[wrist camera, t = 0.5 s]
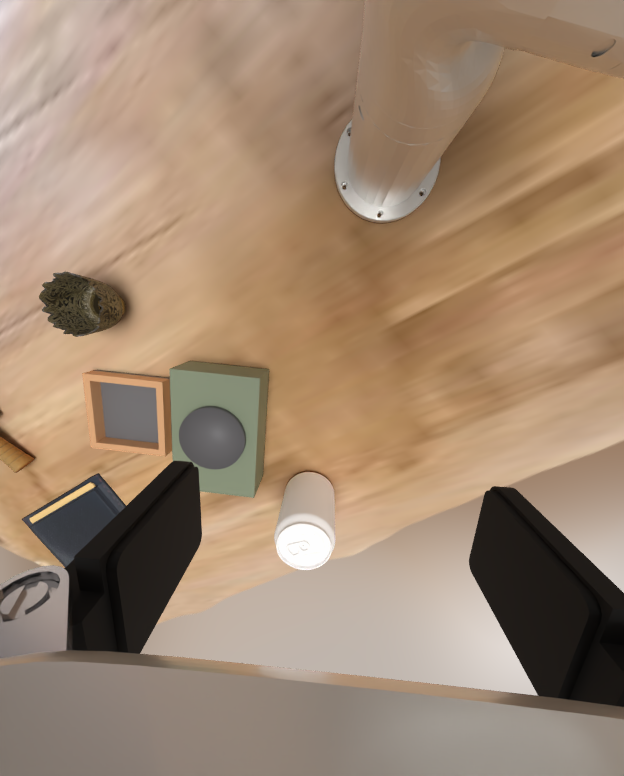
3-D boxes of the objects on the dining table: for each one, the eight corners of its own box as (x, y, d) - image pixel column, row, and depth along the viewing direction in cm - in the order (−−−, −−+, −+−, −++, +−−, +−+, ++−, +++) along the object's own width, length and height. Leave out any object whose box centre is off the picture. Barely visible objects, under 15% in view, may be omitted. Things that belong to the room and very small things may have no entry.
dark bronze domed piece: (114, 341, 44) (69, 348, 37) (80, 298, 43) (26, 296, 35) (150, 313, 43) (111, 314, 35) (117, 268, 42) (68, 258, 34)
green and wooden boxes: (93, 350, 45) (52, 358, 38) (269, 369, 44) (258, 380, 37) (104, 456, 50) (69, 479, 43) (263, 475, 49) (252, 502, 42)
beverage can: (342, 502, 49) (345, 561, 38) (298, 518, 51) (289, 580, 39) (321, 462, 48) (319, 512, 36) (277, 480, 49) (261, 533, 38)
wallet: (67, 581, 56) (12, 521, 53) (75, 573, 58) (22, 513, 55) (149, 543, 53) (94, 475, 50) (155, 535, 54) (103, 469, 51)
